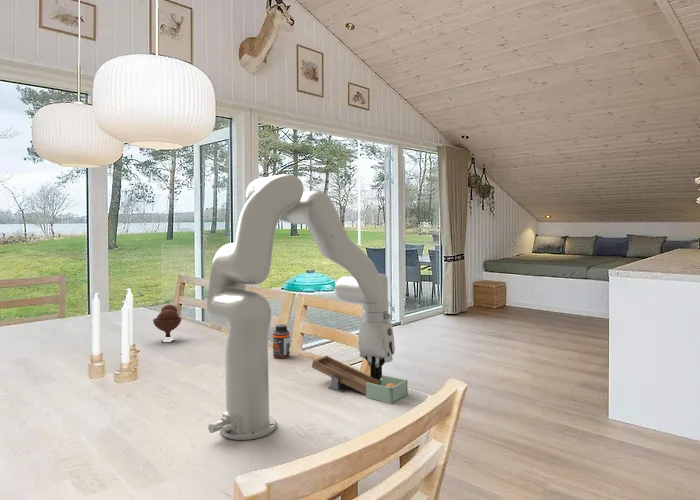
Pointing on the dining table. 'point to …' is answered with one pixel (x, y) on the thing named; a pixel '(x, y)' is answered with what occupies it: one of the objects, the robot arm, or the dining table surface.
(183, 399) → the dining table surface
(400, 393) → the tray
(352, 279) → the robot arm
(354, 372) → the lever
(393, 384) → the ball
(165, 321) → the ice cream bowl
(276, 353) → the supplement bottle
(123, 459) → the dining table surface
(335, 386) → the fulcrum
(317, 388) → the dining table surface
